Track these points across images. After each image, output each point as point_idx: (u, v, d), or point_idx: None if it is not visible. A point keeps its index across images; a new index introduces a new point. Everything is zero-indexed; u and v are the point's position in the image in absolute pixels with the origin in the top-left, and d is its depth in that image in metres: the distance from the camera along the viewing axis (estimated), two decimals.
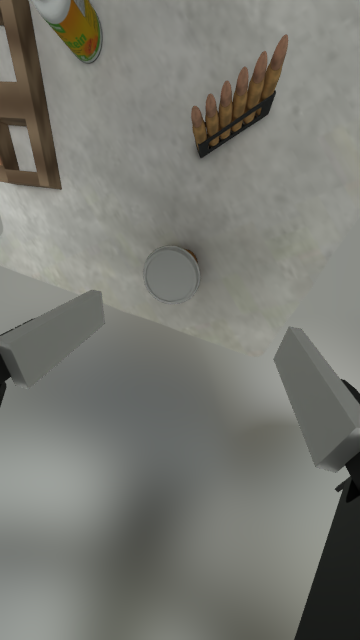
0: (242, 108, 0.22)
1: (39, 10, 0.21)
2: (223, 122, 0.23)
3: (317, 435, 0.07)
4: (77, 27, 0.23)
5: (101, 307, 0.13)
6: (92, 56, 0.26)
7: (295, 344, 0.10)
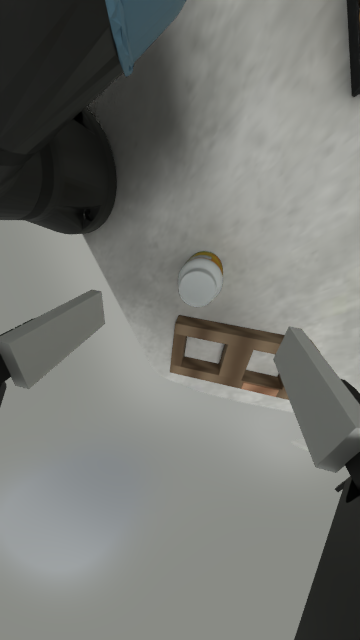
0: None
1: (215, 296, 0.21)
2: None
3: (317, 435, 0.07)
4: (219, 265, 0.22)
5: (101, 307, 0.13)
6: (221, 264, 0.26)
7: (295, 344, 0.10)
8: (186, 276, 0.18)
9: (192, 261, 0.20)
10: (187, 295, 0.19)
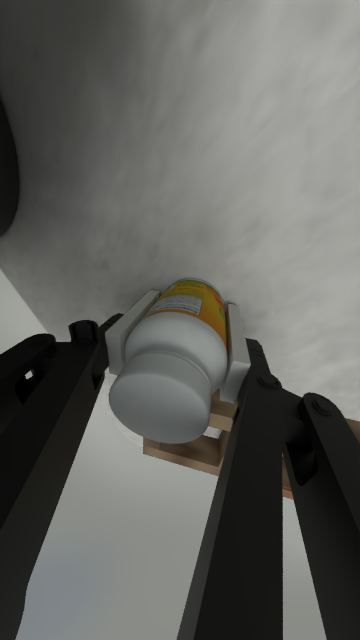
0: None
1: (211, 394, 0.09)
2: None
3: None
4: (220, 320, 0.10)
5: None
6: (223, 303, 0.14)
7: (227, 316, 0.12)
8: (123, 382, 0.06)
9: (152, 322, 0.08)
10: (134, 419, 0.07)
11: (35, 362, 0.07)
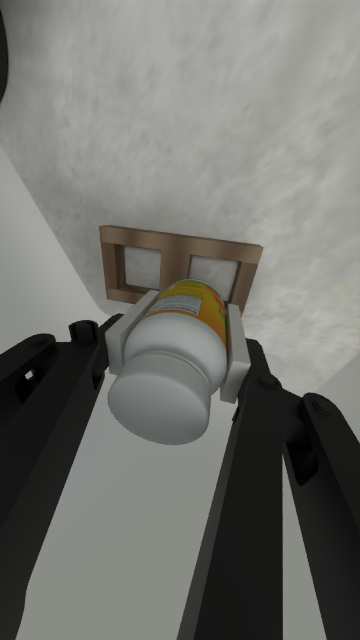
0: None
1: (210, 395, 0.09)
2: None
3: None
4: (219, 320, 0.10)
5: None
6: (223, 304, 0.13)
7: (227, 316, 0.12)
8: (122, 383, 0.06)
9: (151, 323, 0.08)
10: (133, 420, 0.07)
11: (35, 362, 0.07)
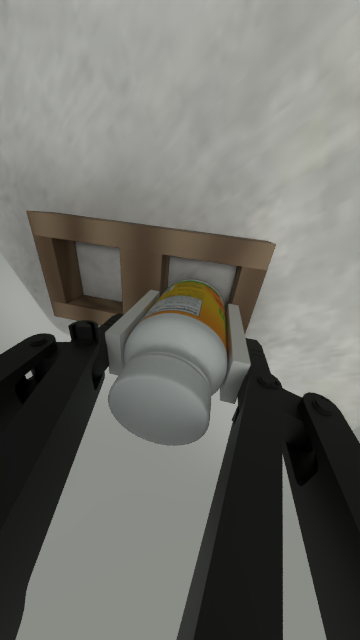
0: None
1: (210, 395, 0.09)
2: None
3: None
4: (220, 320, 0.10)
5: None
6: (223, 304, 0.13)
7: (227, 316, 0.12)
8: (122, 384, 0.06)
9: (151, 323, 0.08)
10: (133, 421, 0.07)
11: (35, 362, 0.07)
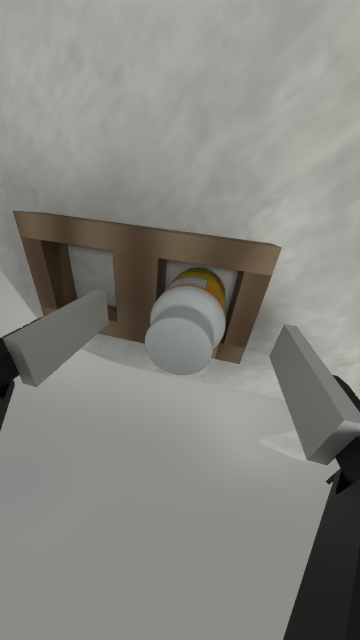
0: None
1: (213, 348, 0.13)
2: None
3: (309, 429, 0.07)
4: (220, 295, 0.13)
5: (105, 307, 0.13)
6: (223, 287, 0.17)
7: (289, 342, 0.10)
8: (156, 325, 0.10)
9: (172, 292, 0.11)
10: (161, 356, 0.11)
11: None
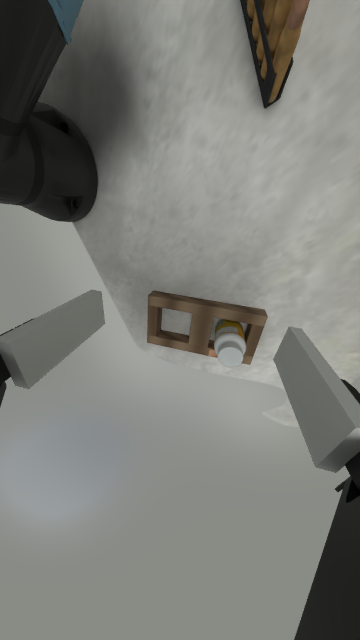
0: None
1: None
2: None
3: (317, 435, 0.07)
4: (243, 334, 0.32)
5: (101, 307, 0.13)
6: (242, 328, 0.35)
7: (294, 345, 0.10)
8: (224, 349, 0.28)
9: (226, 335, 0.30)
10: (223, 360, 0.29)
11: None
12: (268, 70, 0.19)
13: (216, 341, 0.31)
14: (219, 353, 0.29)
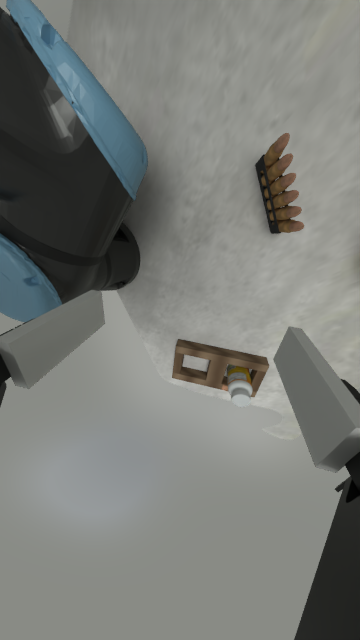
0: None
1: None
2: None
3: (317, 435, 0.07)
4: (250, 379, 0.42)
5: (101, 307, 0.13)
6: (248, 370, 0.45)
7: (295, 344, 0.10)
8: (236, 395, 0.38)
9: (238, 382, 0.40)
10: (235, 401, 0.39)
11: None
12: (275, 226, 0.28)
13: (230, 385, 0.41)
14: (233, 397, 0.39)
